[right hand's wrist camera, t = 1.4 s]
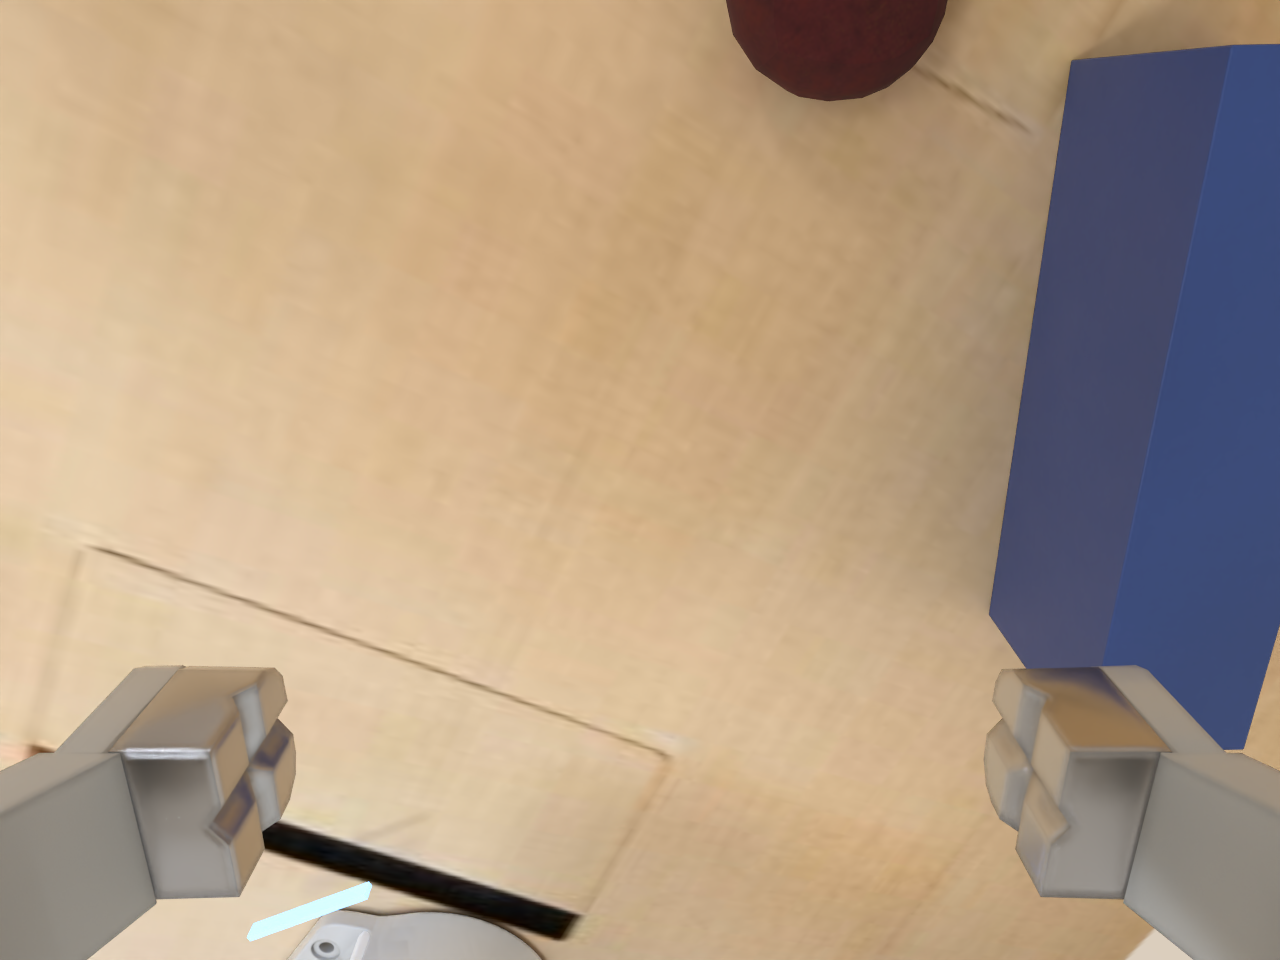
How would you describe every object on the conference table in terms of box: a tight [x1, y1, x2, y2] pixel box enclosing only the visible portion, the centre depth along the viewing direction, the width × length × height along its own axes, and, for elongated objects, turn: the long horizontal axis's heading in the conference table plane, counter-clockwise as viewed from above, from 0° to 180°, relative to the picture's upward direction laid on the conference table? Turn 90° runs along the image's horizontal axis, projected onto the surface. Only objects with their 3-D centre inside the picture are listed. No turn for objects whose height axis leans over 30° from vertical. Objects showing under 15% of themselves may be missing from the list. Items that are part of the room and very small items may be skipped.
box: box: [989, 44, 1280, 750], centre depth 37 cm, size 26×6×11 cm, turn 1°
